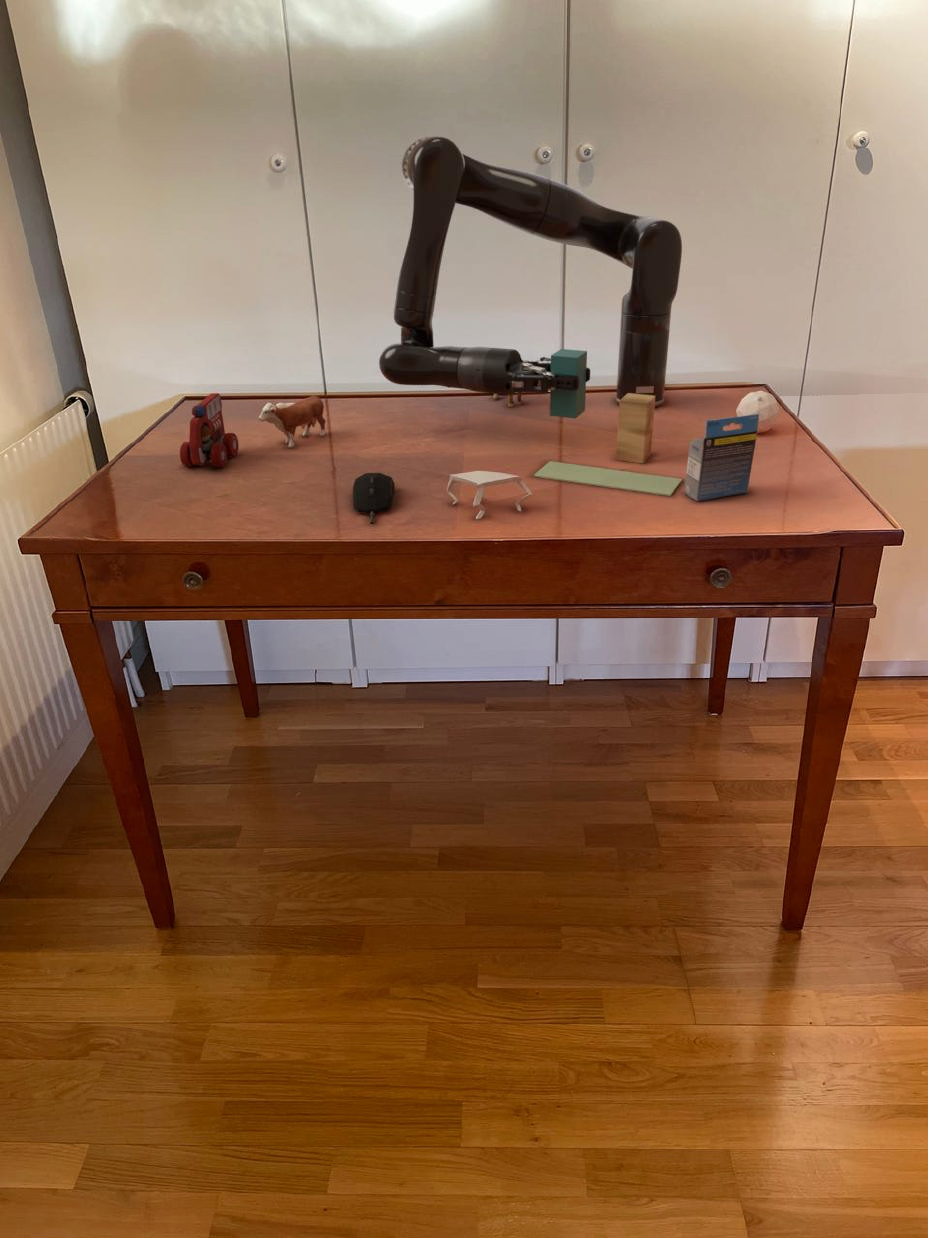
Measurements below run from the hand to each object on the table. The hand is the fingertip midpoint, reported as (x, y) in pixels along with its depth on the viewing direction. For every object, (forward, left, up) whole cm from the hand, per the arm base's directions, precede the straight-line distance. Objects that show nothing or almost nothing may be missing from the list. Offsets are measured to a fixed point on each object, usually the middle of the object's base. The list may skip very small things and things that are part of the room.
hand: (583, 378), depth 145 cm
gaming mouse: (+34, -21, -12) cm, 42 cm away
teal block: (0, -3, -6) cm, 7 cm away
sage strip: (+11, +8, -12) cm, 18 cm away
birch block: (0, +9, -12) cm, 15 cm away
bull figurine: (+14, -49, -12) cm, 52 cm away
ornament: (-21, +25, -12) cm, 35 cm away
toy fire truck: (+28, -57, -12) cm, 65 cm away
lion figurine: (-23, -23, -12) cm, 35 cm away
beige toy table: (+29, -4, -12) cm, 32 cm away
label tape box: (+11, +25, -12) cm, 30 cm away
